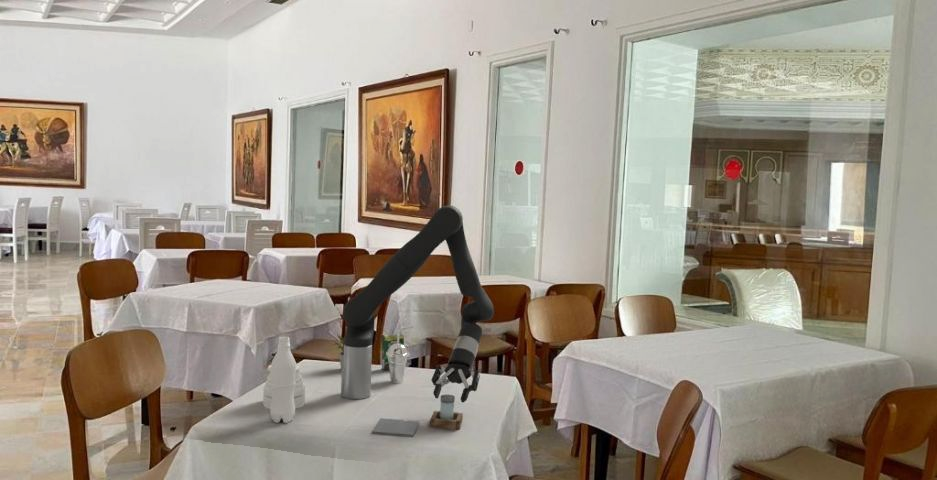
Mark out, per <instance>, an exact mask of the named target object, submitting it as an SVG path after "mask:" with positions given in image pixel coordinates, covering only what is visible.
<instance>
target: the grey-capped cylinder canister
mask: <svg viewBox="0 0 937 480" xmlns="http://www.w3.org/2000/svg"><path fill="white" fill-rule="evenodd" d="M455 398H456V397H455V395H453V394H446V393H445V394H441V395H440V410H439V411H440V419H448V420H453V417H454V412H455Z"/></svg>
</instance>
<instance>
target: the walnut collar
mask: <svg viewBox="0 0 937 480" xmlns="http://www.w3.org/2000/svg"><path fill="white" fill-rule="evenodd" d="M463 416H464V415H463V412H458V411H454V417H453V420H448V419H440V410H437V411H436V410H434V411H433V413H432V414H431V417H430V423H429V424H430V425H429V427H430V428H434V429H439V430H440V429H441V430H442V429H444V430H454V431H455V430H461V427H462V424H463Z"/></svg>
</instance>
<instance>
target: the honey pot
mask: <svg viewBox="0 0 937 480" xmlns="http://www.w3.org/2000/svg"><path fill="white" fill-rule="evenodd" d="M278 348H279V346H278V345H277V349H278ZM300 369H301V366H300V365H298V364H297V363H296V373H295V382H296V386H295V390H294V404H295V410H296V409H298V408H301V407H303V406H304V405H305V404H306V402H305V401H306V393H305V392H306V385H305V384H304V380H303V376H302V375H301V372H300ZM267 370H268V372H269V374H268V376H267V378H266V381H265V385H264V386H263V397H262V399H263V400H262V401H263V402H262V405H263V407H265V408H267V409H269V410H270V407H271V403H272V390H271V370H272V367H271V364H270V365H269V366H268V367H267Z"/></svg>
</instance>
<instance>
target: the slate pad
mask: <svg viewBox="0 0 937 480" xmlns="http://www.w3.org/2000/svg"><path fill="white" fill-rule="evenodd" d="M420 424H421V421H419V420H408V419H396V418H395V419H394V418H384V417H383V418H382V417H380V418H379V420H378V421H377V423H376V425H375V426H374V427H373V429H372V430H371V434H373V435H387V436H388V435H389V436H401V437H402V436H403V437H414V435H415V433H416V431H417V429H418V427H419V426H420Z"/></svg>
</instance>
